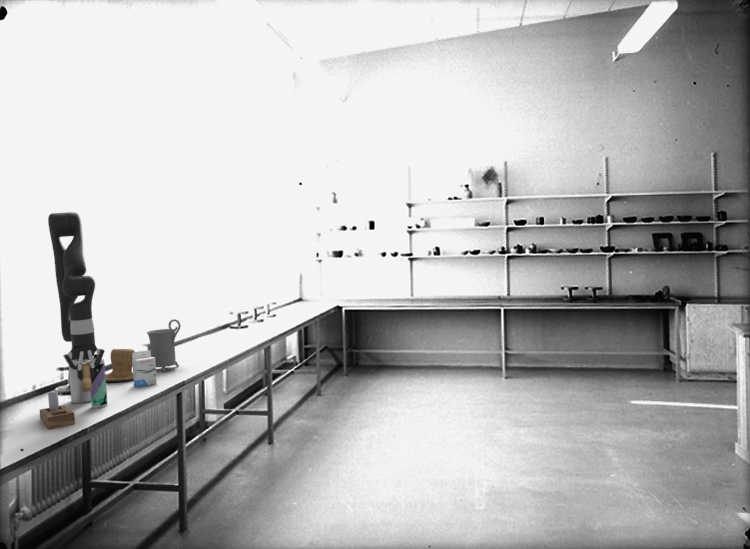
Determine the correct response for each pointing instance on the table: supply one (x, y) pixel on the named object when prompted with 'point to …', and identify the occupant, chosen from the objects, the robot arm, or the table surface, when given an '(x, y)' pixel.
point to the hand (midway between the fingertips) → (86, 379)
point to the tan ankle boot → (121, 365)
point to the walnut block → (57, 417)
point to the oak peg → (86, 377)
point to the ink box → (143, 368)
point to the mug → (163, 345)
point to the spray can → (99, 385)
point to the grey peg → (53, 400)
